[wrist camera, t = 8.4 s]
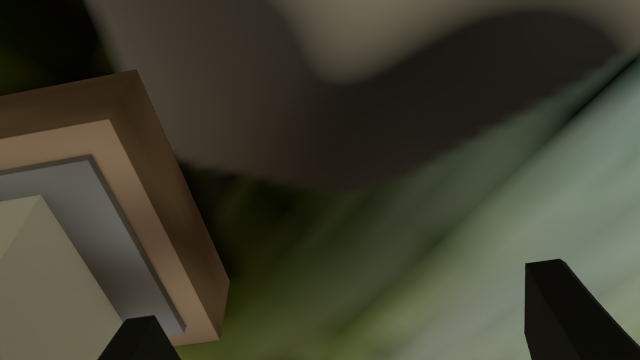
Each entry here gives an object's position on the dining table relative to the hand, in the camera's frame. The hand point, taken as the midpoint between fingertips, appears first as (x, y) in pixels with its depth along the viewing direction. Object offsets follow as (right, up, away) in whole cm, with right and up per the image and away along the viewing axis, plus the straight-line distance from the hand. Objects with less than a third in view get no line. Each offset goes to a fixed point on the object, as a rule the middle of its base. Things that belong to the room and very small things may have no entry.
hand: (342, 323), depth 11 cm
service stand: (-10, +2, +11) cm, 15 cm away
